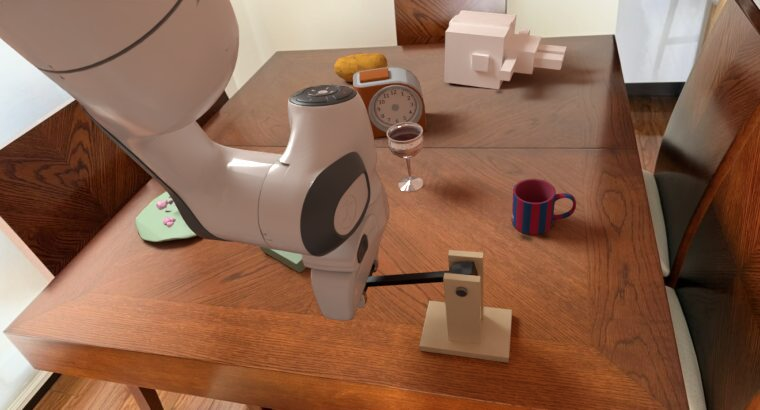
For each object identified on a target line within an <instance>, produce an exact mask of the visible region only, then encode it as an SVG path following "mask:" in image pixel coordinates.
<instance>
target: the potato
mask: <svg viewBox="0 0 760 410" xmlns="http://www.w3.org/2000/svg"><path fill="white" fill-rule="evenodd" d="M388 64H389V63H388V59H387V57H386V56H385V54H383V53H380V52H370V53H362V52H361V53H355V54H354V53H353V54H351V55H343V56H341V57H339V58H338V59H336V61H335V62H334V66H333V69H334V72H335V74H336V75H337V76H338V78H340V79H342V80H344V81H346V82H350V83H353V75H354V74H355V73H357V72H359V71H365V70H372V69H379V68H386V67H388V66H389V65H388Z"/></svg>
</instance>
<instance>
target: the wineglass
mask: <svg viewBox="0 0 760 410" xmlns="http://www.w3.org/2000/svg"><path fill="white" fill-rule="evenodd" d="M423 132H424V131H423V129H422V127H421V126H420V125H418V124H416V123H411V122H404V123H399V124H396V125H394V126H392V127H390V128H389V129H388V131H387V136H386V137H387V138H388V139H387V146H388V149H389V151H390V152H391V153H392V155H394V156H396V157H398V158H400V159H405V162H406V168H407V174H408V176H406V177H403V178H401V179H400V181H399V182H398V185H397V186H398V188H399V189H400V190H401V191H403V192H409V193H411V192H416V191H418V190H420V189H421V188H422V187H423V186H424V180H423V179H422V178H421V177H419V176H416V175H412V170H411V169H412V167H411V158H414V157H415V156H417V155H418V154H419V153H420V152H421V151H422V150H423V148H424V145H425V138H424V135H423Z"/></svg>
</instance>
